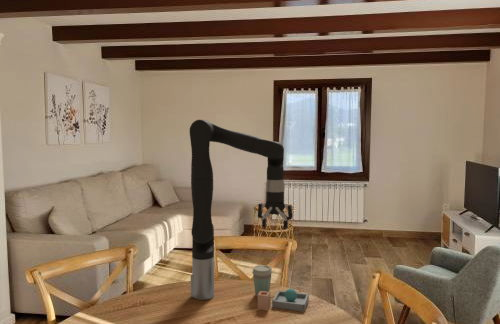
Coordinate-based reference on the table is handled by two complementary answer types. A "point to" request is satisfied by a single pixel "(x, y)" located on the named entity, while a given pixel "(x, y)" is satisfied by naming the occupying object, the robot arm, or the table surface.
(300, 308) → the tray
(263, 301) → the pinkish brown block
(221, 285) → the table surface
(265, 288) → the coffee cup
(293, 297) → the ball
